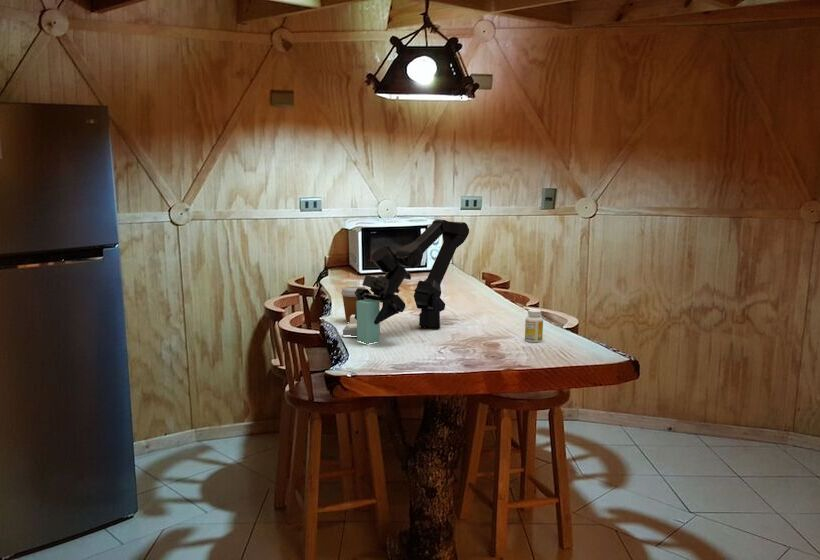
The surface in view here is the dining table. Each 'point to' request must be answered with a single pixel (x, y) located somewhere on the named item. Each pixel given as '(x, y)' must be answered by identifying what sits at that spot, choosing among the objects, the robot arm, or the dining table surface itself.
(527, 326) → the supplement bottle
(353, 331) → the base plate
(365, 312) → the column
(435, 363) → the dining table surface
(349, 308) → the disposable coffee cup
